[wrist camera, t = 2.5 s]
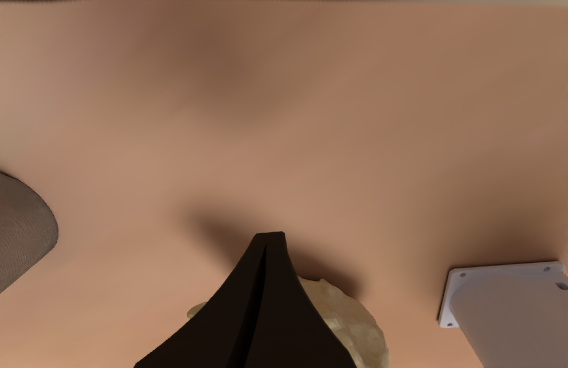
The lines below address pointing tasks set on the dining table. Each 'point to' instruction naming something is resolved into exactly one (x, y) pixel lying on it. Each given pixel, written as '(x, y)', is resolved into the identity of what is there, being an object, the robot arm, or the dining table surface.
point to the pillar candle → (22, 230)
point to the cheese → (344, 323)
